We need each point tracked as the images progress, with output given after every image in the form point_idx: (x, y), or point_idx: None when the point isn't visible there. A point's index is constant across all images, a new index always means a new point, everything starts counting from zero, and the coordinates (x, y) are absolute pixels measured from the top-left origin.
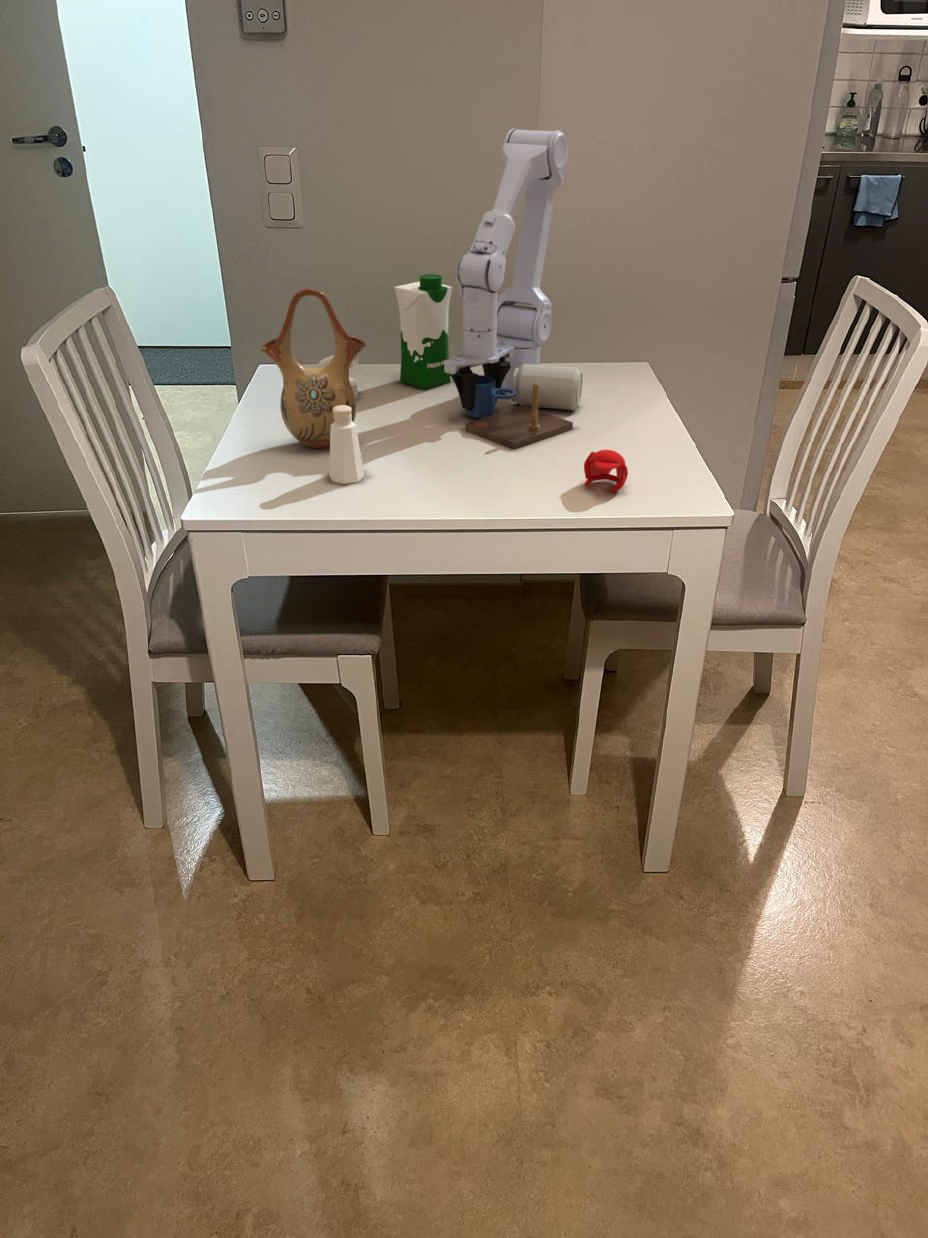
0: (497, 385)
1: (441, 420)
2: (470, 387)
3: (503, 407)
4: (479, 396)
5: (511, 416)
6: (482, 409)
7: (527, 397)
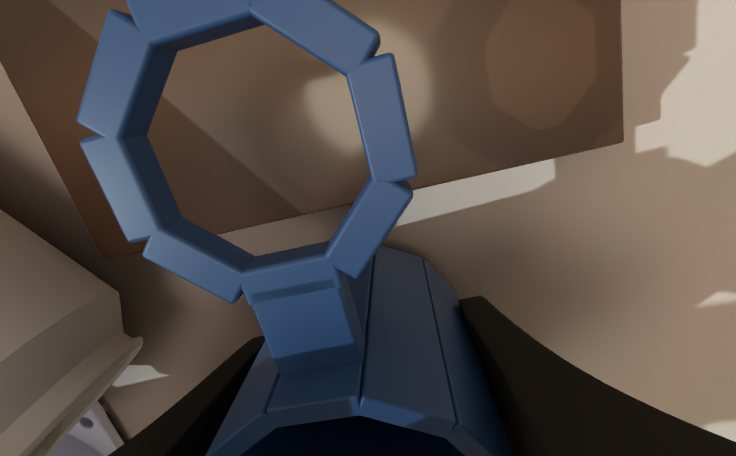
0: (202, 416)
1: (599, 336)
2: (610, 402)
3: (211, 341)
4: (438, 329)
5: (257, 108)
6: (404, 269)
7: (35, 263)
